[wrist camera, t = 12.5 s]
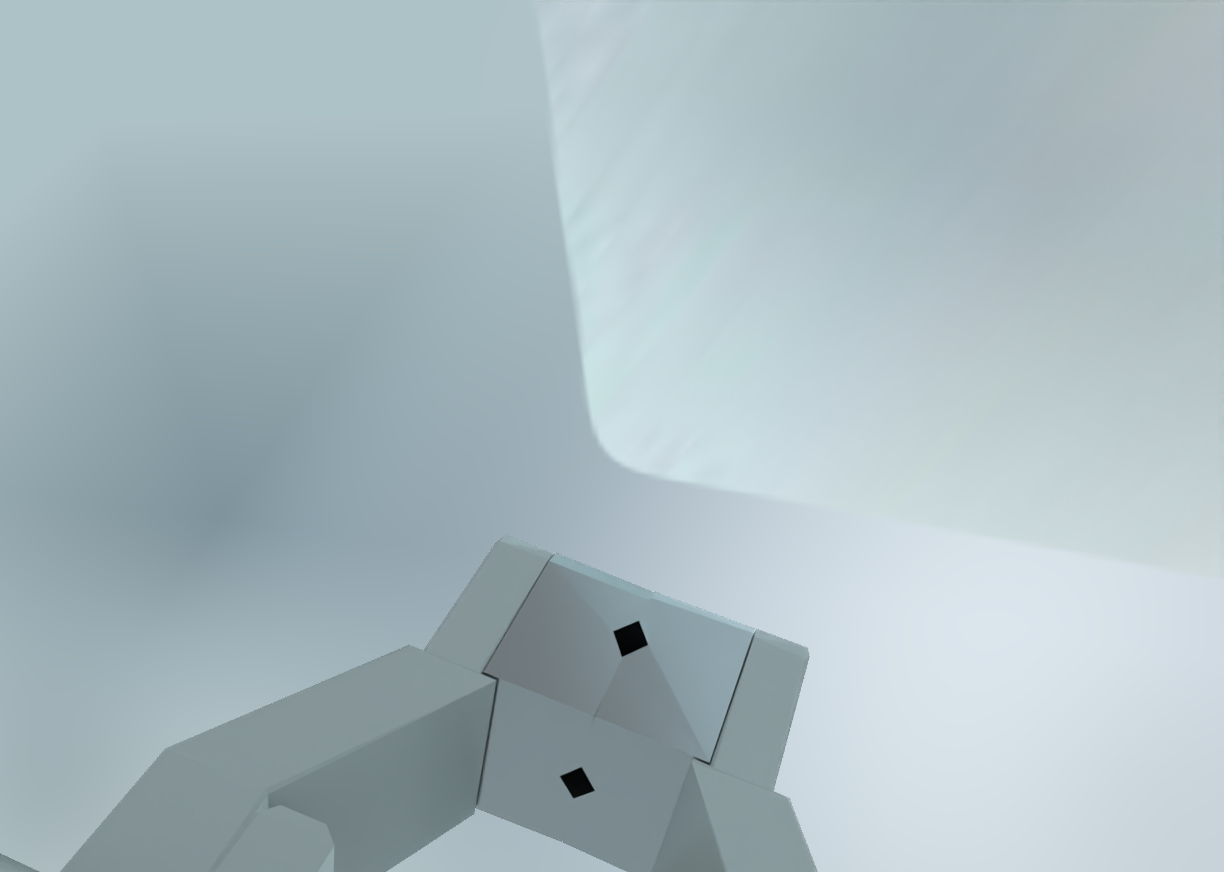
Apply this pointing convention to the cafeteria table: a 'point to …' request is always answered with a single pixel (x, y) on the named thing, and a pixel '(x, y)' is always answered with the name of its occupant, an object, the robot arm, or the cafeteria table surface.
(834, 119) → the cafeteria table surface
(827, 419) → the cafeteria table surface
